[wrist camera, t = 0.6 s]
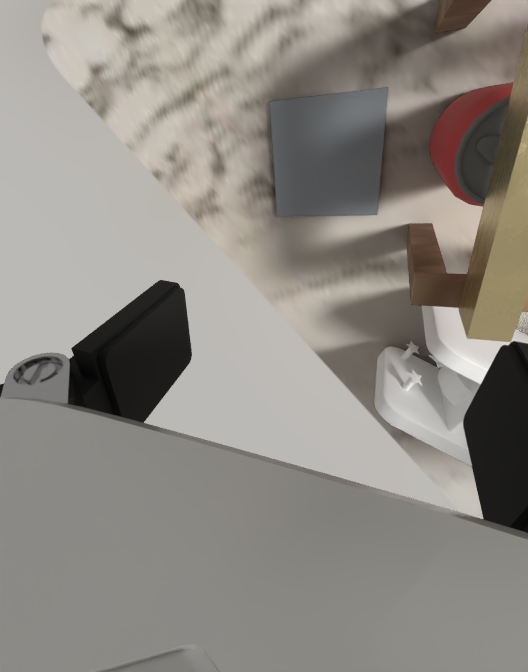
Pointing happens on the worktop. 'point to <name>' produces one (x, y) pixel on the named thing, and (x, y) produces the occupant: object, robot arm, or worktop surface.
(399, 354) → the cable organizer
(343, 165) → the coaster
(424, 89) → the worktop surface
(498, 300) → the bar
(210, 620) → the robot arm
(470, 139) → the beer can
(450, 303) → the frame
